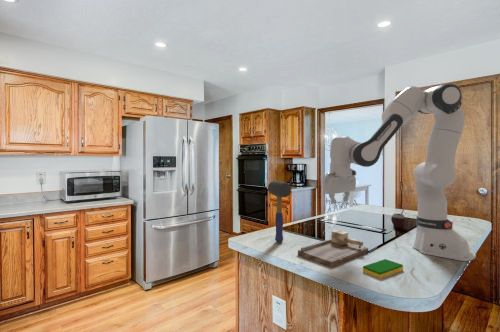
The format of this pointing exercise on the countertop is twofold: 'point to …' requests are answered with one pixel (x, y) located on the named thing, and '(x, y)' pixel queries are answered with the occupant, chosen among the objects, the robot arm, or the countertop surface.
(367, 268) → the dish sponge
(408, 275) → the countertop surface
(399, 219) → the mate gourd
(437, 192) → the robot arm
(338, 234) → the marking gauge
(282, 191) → the rubber mallet
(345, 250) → the walnut board
